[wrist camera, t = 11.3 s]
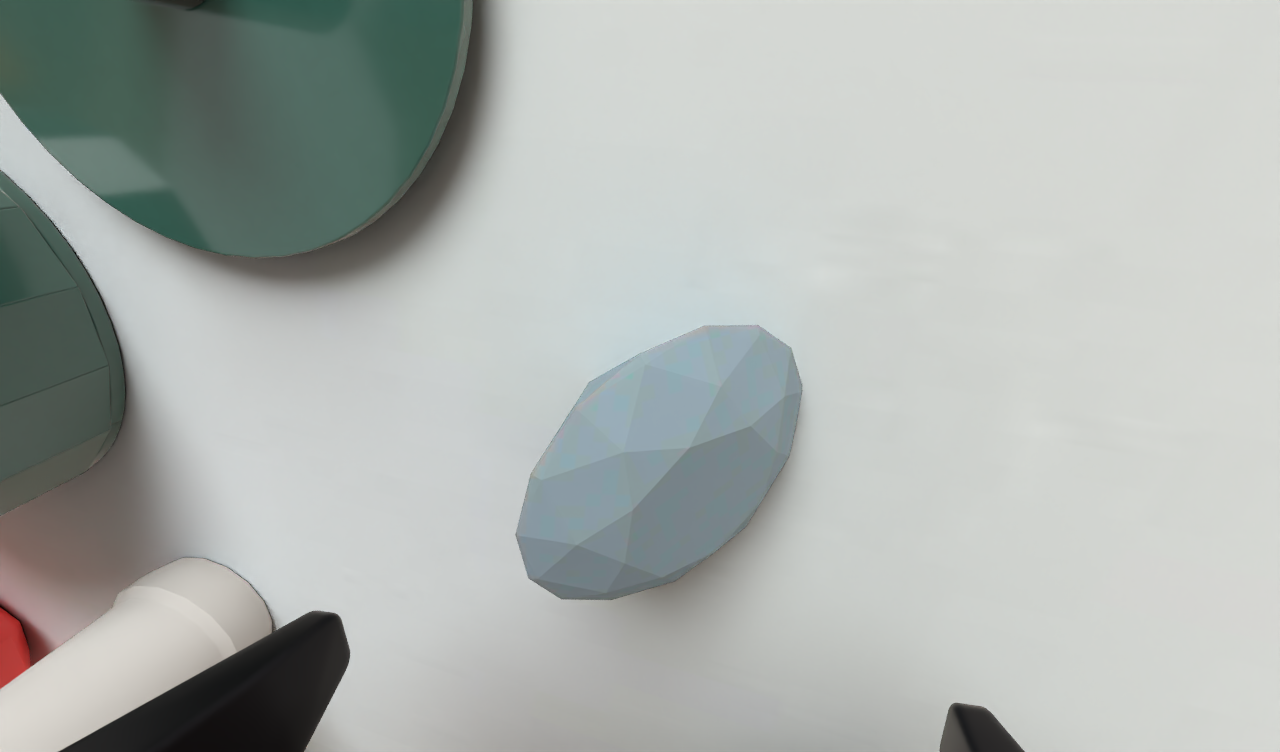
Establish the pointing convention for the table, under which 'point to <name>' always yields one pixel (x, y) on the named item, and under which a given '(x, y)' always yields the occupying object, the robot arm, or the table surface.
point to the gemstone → (660, 463)
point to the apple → (12, 649)
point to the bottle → (132, 654)
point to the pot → (50, 358)
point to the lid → (238, 109)
